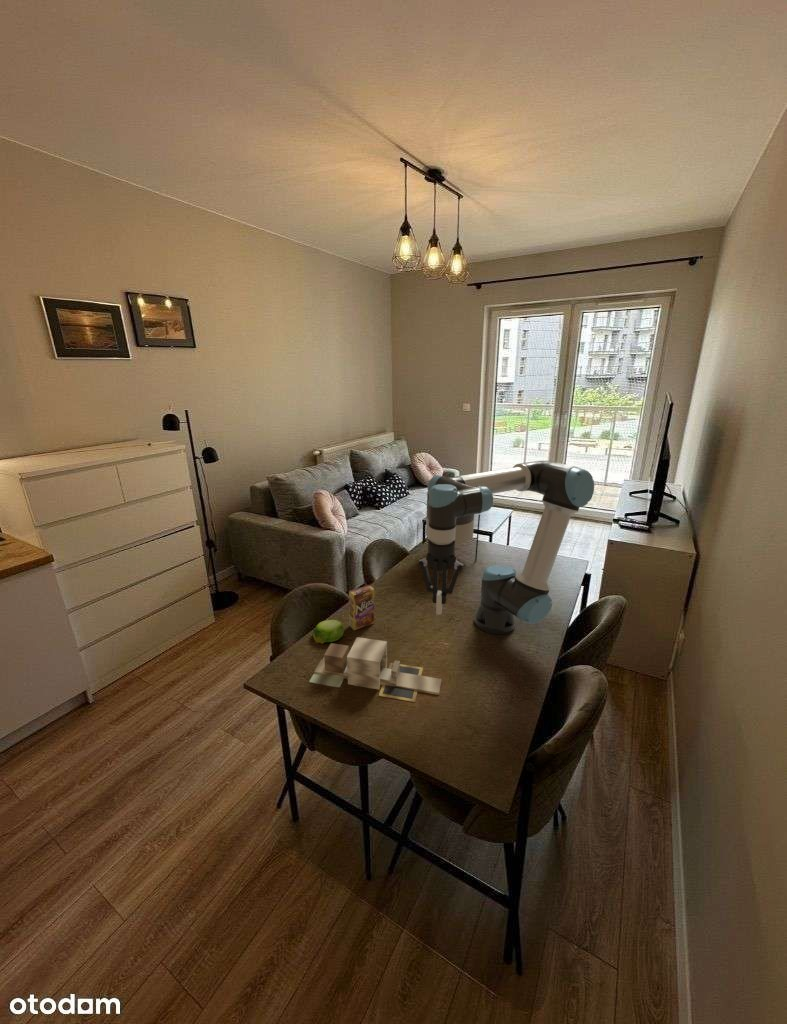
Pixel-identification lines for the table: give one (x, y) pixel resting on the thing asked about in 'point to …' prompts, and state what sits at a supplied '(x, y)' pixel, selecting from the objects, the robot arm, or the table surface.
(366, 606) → the candy box
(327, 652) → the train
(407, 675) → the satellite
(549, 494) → the robot arm
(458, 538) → the planter
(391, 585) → the table surface
